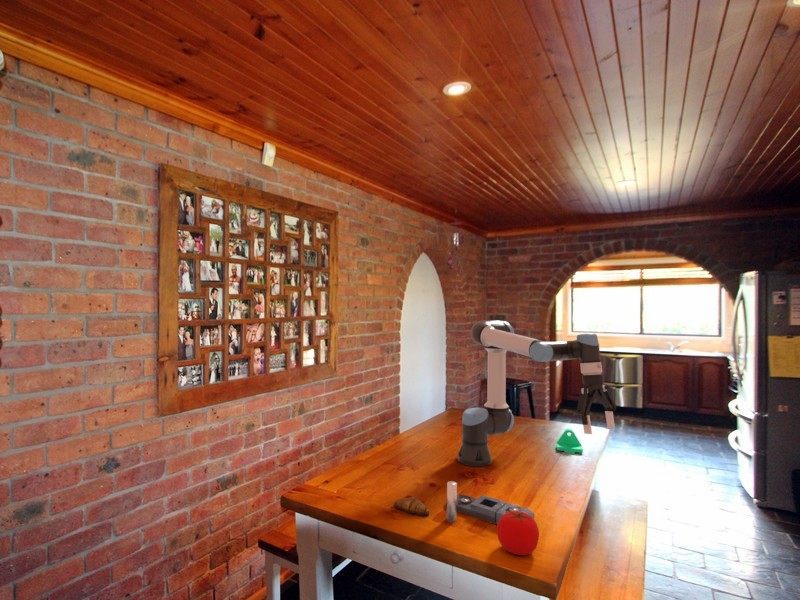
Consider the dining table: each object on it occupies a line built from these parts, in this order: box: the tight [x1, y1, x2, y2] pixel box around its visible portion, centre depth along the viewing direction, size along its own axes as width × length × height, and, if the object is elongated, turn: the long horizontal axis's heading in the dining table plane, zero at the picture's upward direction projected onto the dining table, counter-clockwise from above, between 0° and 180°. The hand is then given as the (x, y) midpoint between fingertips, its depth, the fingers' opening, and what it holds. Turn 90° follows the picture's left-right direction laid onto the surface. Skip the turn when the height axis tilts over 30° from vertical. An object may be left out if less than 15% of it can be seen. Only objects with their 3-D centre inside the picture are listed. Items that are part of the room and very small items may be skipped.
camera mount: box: [555, 428, 584, 455], centre depth 215 cm, size 12×8×10 cm, turn 72°
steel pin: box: [446, 480, 458, 523], centre depth 141 cm, size 3×3×12 cm
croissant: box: [393, 496, 431, 517], centre depth 147 cm, size 14×7×5 cm, turn 60°
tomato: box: [496, 511, 540, 556], centre depth 124 cm, size 12×12×10 cm
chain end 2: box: [470, 494, 535, 526], centre depth 142 cm, size 20×9×5 cm, turn 53°
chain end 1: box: [456, 493, 496, 525], centre depth 149 cm, size 20×9×3 cm, turn 53°
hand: (599, 431), depth 160 cm, fingers open, 13 cm apart
